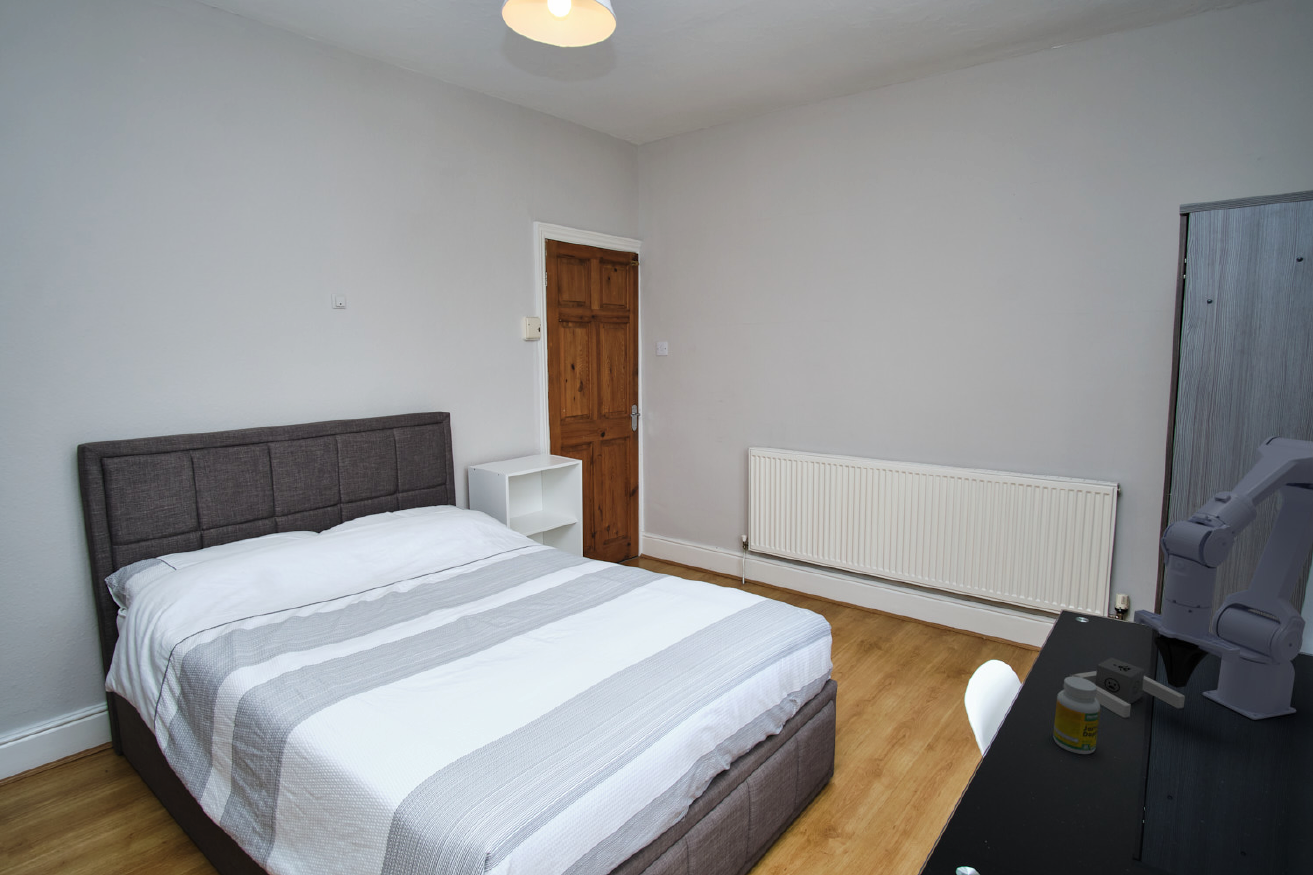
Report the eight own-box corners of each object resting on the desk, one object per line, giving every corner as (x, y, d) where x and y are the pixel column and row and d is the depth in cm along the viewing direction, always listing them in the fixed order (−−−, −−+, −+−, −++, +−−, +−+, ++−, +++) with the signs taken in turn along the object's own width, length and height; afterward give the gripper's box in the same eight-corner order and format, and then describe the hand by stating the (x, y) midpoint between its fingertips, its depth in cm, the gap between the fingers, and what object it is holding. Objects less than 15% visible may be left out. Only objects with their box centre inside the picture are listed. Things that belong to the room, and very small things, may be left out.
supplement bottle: (1063, 729, 103) (1070, 670, 101) (1102, 747, 98) (1110, 685, 97) (1045, 741, 100) (1051, 679, 98) (1084, 760, 95) (1091, 696, 94)
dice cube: (1127, 706, 110) (1131, 677, 109) (1094, 692, 114) (1097, 664, 113) (1141, 697, 113) (1144, 669, 112) (1108, 684, 117) (1111, 657, 116)
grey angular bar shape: (1125, 677, 119) (1126, 666, 119) (1183, 707, 110) (1185, 695, 109) (1068, 685, 116) (1069, 674, 116) (1123, 717, 106) (1125, 705, 106)
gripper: (1122, 586, 108) (1113, 665, 110) (1218, 622, 94) (1206, 713, 96) (1156, 582, 110) (1147, 660, 112) (1255, 617, 96) (1242, 706, 98)
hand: (1176, 684), depth 104 cm, fingers closed
